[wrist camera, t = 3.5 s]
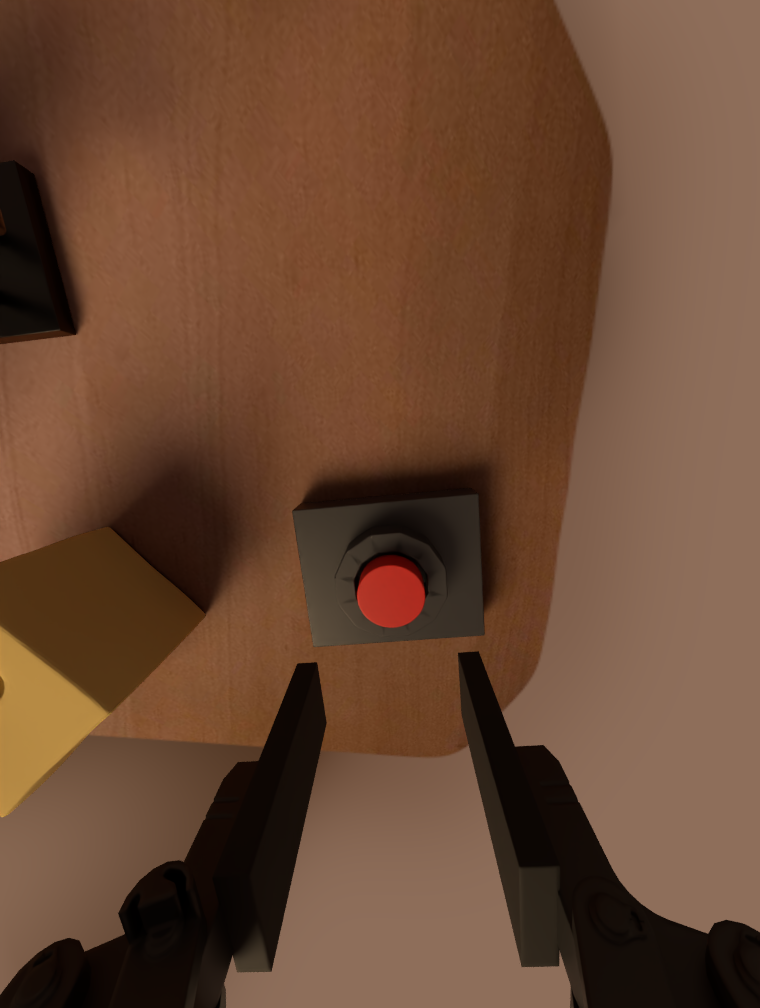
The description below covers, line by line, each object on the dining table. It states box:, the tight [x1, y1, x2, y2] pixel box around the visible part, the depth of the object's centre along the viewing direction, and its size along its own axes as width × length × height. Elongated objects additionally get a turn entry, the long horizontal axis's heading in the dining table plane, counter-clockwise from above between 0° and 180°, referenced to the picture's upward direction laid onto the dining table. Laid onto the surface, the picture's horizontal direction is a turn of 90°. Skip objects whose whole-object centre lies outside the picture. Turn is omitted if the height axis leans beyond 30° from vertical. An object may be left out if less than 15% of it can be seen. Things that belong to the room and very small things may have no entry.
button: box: [357, 555, 425, 628], centre depth 22 cm, size 4×4×2 cm
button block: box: [292, 488, 485, 647], centre depth 24 cm, size 12×10×4 cm
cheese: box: [0, 527, 206, 817], centre depth 23 cm, size 10×11×10 cm
